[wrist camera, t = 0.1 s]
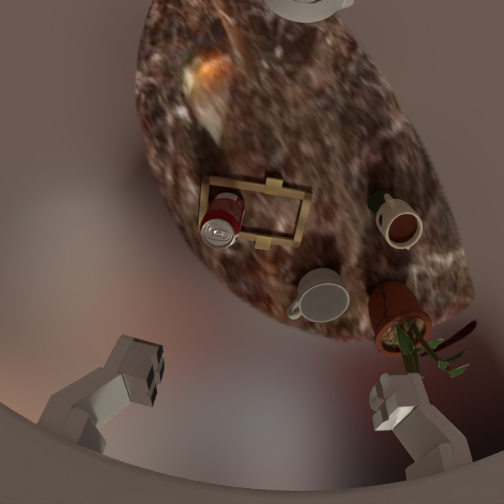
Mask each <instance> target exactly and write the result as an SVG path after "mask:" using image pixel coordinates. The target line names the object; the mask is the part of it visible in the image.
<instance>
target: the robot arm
mask: <svg viewBox="0 0 504 504" xmlns="http://www.w3.org/2000/svg"><path fill="white" fill-rule="evenodd" d="M264 2H265V3H266V5H267V6H268V7H269V8H270V9H271V10H272V11H273V12H275V13H276V14H277V15H279V16H281V17H283V18H285V19H288V20H291V21H295V22H302V23H310V22H317V21H321V20H324V19H326V18H328V17H330V16H331V15H332V14H334V13H335V12H336V11H337V10H339V9H342V8H347V7H350V6H351V5H353V3H354V0H264ZM162 354H163V345H159V344H155V343H151V342H148V341H144V340H141V339H137V338H134V337H130V336H126V335H122V336H121V337H119V339H118V341H117V343H116V345H115V347H114V349H113V350H112V353H111V354H110V356H109V358H108V360H107V362H106V364H105V366H104V368H101V367H100V368H98V369H96V370H95V371H93V372H91V373H89V374H88V375H86V376H85V377H82V378H81V379H79V380H77V381H76V382H74V383H72V384H71V385H69V386H67V387H65V388H64V389H62V390H60V391H58V392H57V393H55V394H53V395H51V398H50V399H49V401H48V403H47V405H46V407H45V409H44V411H43V413H42V415H41V417H40V419H39V421H38V423H37V424H36V423H34V422H32V421H30V420H29V419H27V418H25V417H23V416H22V415H20V414H18V413H17V412H15V411H13V410H11V409H10V408H8V407H7V406H5V405H4V404H2V403H1V402H0V504H504V451H502V452H499V453H497V454H494V455H492V456H489V457H487V458H484V459H481V460H479V461H476V462H472V458H471V454H470V451H469V447H468V444H467V440H466V438H465V436H464V435H463V434H462V433H461V432H460V431H459V430H458V429H457V428H455V426H454V425H453V424H452V423H451V422H449V420H447V419H446V418H445V417H444V416H443V415H442V414H441V413H440V412H439V411H438V410H437V409H436V408H435V407H434V406H433V405H430V403H429V400H428V397H427V394H426V391H425V388H424V385H423V383H422V379H421V377H420V375H419V374H418V373H385V374H383V375H382V376H381V378H380V381H381V382H380V383H378V384H376V385H375V386H374V387H373V389H372V390H371V394H370V406H371V408H372V409H373V410H374V411H375V412H374V415H373V423H374V428H375V430H393V432H394V433H395V435H396V436H397V437H398V439H399V440H400V441H401V443H402V444H403V446H404V447H405V448H406V450H407V451H408V452H409V454H410V455H411V457H412V458H413V459H414V461H415V463H413V464H412V465H410V466H409V467H408V468H407V469H406V477H407V481H403V482H398V483H391V484H385V485H378V486H371V487H363V488H354V489H341V490H323V491H280V490H262V489H250V488H240V487H232V486H223V485H217V484H211V483H205V482H200V481H194V480H189V479H185V478H180V477H175V476H171V475H167V474H163V473H159V472H155V471H152V470H148V469H145V468H141V467H138V466H134V465H131V464H128V463H125V462H122V461H119V460H117V459H114V458H111V457H108V456H106V455H103V452H104V449H105V446H106V441H105V439H104V438H103V437H102V435H101V434H100V432H99V431H98V429H99V428H100V427H101V426H102V425H104V424H105V423H106V422H107V421H109V420H110V419H111V418H112V417H114V416H115V415H116V414H117V413H119V412H120V411H121V410H122V409H124V408H125V407H126V406H127V405H129V404H130V403H131V402H134V403H138V404H142V405H146V406H150V407H153V405H154V401H155V398H156V395H157V387H156V386H157V385H158V384H160V383H161V380H162V377H163V373H164V365H165V363H164V358H163V357H162ZM130 401H131V402H130Z"/></svg>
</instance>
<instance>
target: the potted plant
mask: <svg viewBox="0 0 504 504" xmlns="http://www.w3.org/2000/svg"><path fill="white" fill-rule="evenodd" d="M368 308H369V317H370V320H371V323H372V327H373V330H374V333H375V336H374V342H375V346H376V349H377V351H378V352H379V353H380V354H382V355H384V356H388V357H397V356H402V357H403V360H404V363H405V368H406V372H407V373H418V374H419V375H420V369H419V361H418V354H417V352H418V351H420V350H422V348H421V347H420V348H419V346H421V345H422V347H424V349H425V350H426V351H427V353H428V354H429V355H430V357H431V358H432V359H433V360H434V361H435V362H436V363H437V364H438V365H439V367H440V368H441V369H443V370H444V371H446V372H448V373H450V375H451V377H456V376H458V375H459V374H461V373H462V372H463V371H464V370H465V369H466V367H467V366H468V364H467V365H465V366H462V367H460V368H457V369H455V370H452V371H450V366H449V364H448V363H447V361H453V360H455V359H457V358H459V357H461V356H463V354H464V352H465V351H466V349H467V348H466V349H465V350H464V351H462V352H461V353H459V354H457V355H455V356H453V357H451V358H449V359H447V360H444V361H442V360H441V359H440V358H439V357H438V356H437V355H436V354H435V353H434V351H433V350H432V349H434V348H436V347H437V346H438V345H439V344H440V343H441V342H442V341H443V340H442V339H438V340H434V341H432V342H430V344H429V345H428V344H427V343H426V342H425V341H426V339H427V338H428V337H429V335H430V333H431V330H432V321H431V319H430V317H429V316H428V314H427V313H426V312H424V311H423V310H422V308H421V306H420V304H419V302H418V301H417V299H416V297H415V295H414V294H413V293H412V291H411V290H410V289H409V288H408V287H407V286H406V285H405V284H403V283H401V282H397V281H386V282H384V283H382V284H380V285H378V286H377V287H376V288H375V289H374V291H373V292H372V294H371V296H370V298H369V302H368ZM407 354H408V356H407ZM408 358H409V360H408ZM422 378H424V377H421V379H422Z"/></svg>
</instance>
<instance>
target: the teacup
mask: <svg viewBox="0 0 504 504" xmlns="http://www.w3.org/2000/svg"><path fill="white" fill-rule="evenodd" d="M298 305H299V308H298V310H297V311H296V312H295V313H292V312H293V311H294V309H295V308H296V307H297V306H298ZM348 305H349V294H348V292H347V290H346V287H345V284H344V282H343V280H342V278H341V277H340V275H339V274H338V273H336V272H335V271H333V270H331V269H327V268H319V269H314V270H312V271H310V272H308V273H307V274H305V275H304V276H303V278H302V279H301V280H300V282H299V285H298V297H297V299H296V300H295V301H294V302H293V303H292V304H291V305H290V306H289V307H288V309H287V315H288V317H289V318H291V319H297V318H299V317H300V316H301V315H303V316H304V317H305V318H307V319H308V320H310V321H314V322H327V321H331V320H333V319H336V318H337V317H339V316H340V315H342V314H343V313H344V312H345V310H346V309H347V307H348Z"/></svg>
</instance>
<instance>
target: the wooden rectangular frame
mask: <svg viewBox="0 0 504 504" xmlns="http://www.w3.org/2000/svg"><path fill="white" fill-rule="evenodd" d="M282 183H283V179H280V178H274V177H268V176H267V179H266V184H264V183H258V182H252V181H246V180H239V179H232V178H225V177H218V176H211V175H203V176H202V185H201V197H200V210H199V224H198V232H200V223H201V221H202V219H203V217H204V215H205V213H206V211H207V209H208V202H209V192H210V185H217V186H224V187H231V188H238V189H244V190H250V191H257V192H263V193H267V194H273V195H278V196H286V197H292V198H297V199H303V200H302V204H301V208H300V213H299V217H298V221H297V226H296V230H295V234H294V238H287V237H281V236H275V235H269V234H263V233H257V232H251V231H245V230H240V233H239V236H238V238H239V239H245V240H251V241H256V243H255V248H257V249H263V250H269V249H270V244H276V245H282V246H288V247H294V248H300V244H301V240H302V236H303V232H304V228H305V224H306V220H307V216H308V212H309V207H310V203H311V199H312V195H313V193H312V192H309V191H304V190H298V189H293V188H287V187H282Z"/></svg>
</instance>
